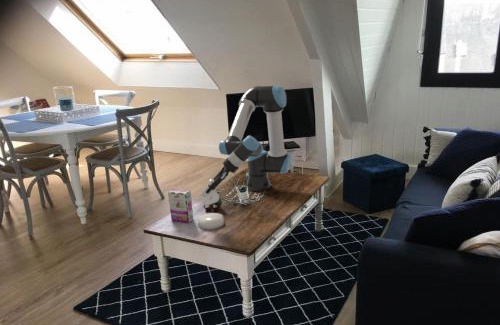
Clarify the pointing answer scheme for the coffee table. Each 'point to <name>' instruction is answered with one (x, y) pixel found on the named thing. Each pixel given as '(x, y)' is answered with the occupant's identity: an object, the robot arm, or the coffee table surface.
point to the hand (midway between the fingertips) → (203, 195)
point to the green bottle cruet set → (213, 206)
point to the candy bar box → (180, 206)
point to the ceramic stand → (210, 221)
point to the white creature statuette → (211, 195)
